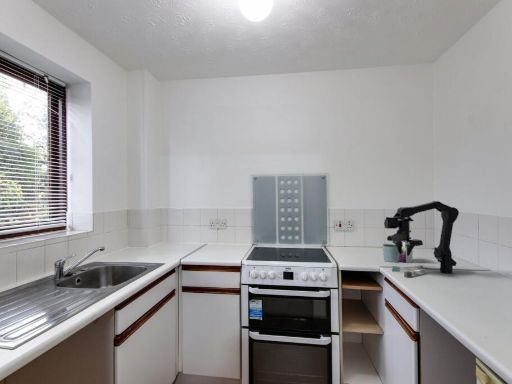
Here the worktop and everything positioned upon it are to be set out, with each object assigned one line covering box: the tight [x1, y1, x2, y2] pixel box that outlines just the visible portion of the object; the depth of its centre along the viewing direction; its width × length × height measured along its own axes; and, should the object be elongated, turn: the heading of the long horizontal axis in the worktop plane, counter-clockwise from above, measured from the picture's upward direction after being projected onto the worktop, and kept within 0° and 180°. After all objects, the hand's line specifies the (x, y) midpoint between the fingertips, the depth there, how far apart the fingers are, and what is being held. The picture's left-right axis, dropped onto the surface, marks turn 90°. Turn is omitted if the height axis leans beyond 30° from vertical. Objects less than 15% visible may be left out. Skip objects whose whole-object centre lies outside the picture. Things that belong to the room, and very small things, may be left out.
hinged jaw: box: [390, 265, 419, 273], centre depth 147 cm, size 14×2×3 cm, turn 79°
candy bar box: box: [398, 238, 413, 264], centre depth 173 cm, size 11×5×16 cm, turn 179°
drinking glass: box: [382, 243, 399, 264], centre depth 170 cm, size 10×10×12 cm
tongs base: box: [403, 265, 426, 278], centre depth 145 cm, size 18×18×5 cm
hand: (404, 254), depth 149 cm, fingers open, 5 cm apart
